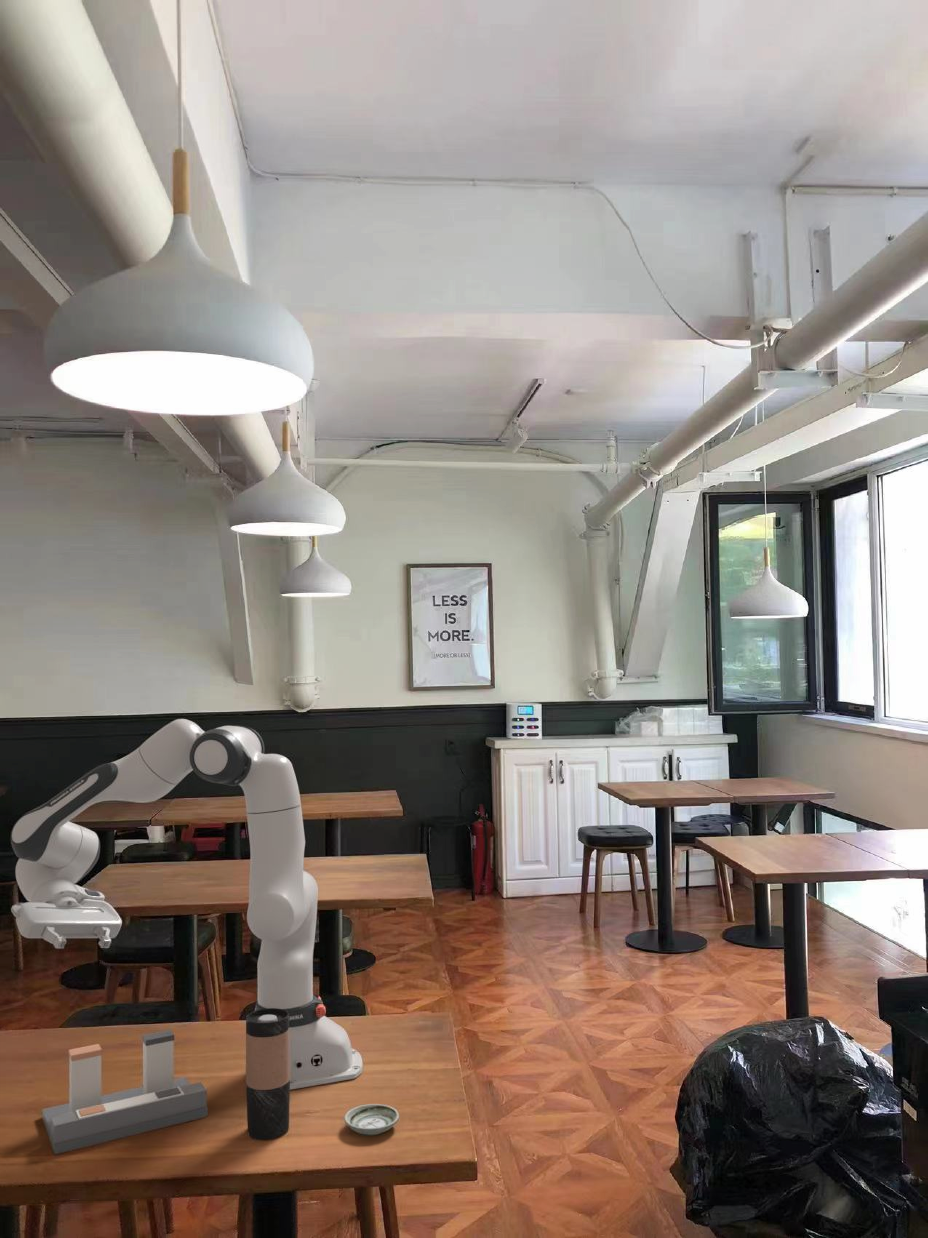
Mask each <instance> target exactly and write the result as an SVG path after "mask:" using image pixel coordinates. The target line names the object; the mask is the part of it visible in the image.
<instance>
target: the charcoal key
mask: <svg viewBox="0 0 928 1238" xmlns="http://www.w3.org/2000/svg"><path fill="white" fill-rule="evenodd" d="M141 1039H142V1040H141V1041H142V1087H143V1095H145V1094H149V1093H153V1092H158V1091H162V1090H166V1089H171V1088H174V1079H175V1060H174V1059H175V1052H174V1051H175V1048H174V1047H175V1042H174V1041H175V1034H174V1032H173V1031H172V1030H171V1029H167V1030H161V1031H156V1032H152V1033H147V1034H142V1035H141Z"/></svg>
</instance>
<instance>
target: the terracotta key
mask: <svg viewBox="0 0 928 1238" xmlns="http://www.w3.org/2000/svg"><path fill="white" fill-rule="evenodd" d="M102 1055H103V1049H102V1047H101V1046H100V1043H96V1044H91V1045H86V1046H80V1047H75V1048H71V1049H68V1057H69V1058H68V1059H69V1061H68V1062H69V1067H68V1068H69V1070H68V1071H69V1072H68V1073H69V1074H68V1076H69V1080H68V1081H69V1083H68V1085H69V1093H68V1094H69V1098H68V1099H69V1101H68V1103H69V1112H74V1111H76V1110H79V1109H84V1108H88V1107H92V1106H97V1105H101V1096H102Z"/></svg>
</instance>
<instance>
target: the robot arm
mask: <svg viewBox="0 0 928 1238" xmlns="http://www.w3.org/2000/svg"><path fill="white" fill-rule="evenodd" d="M191 772H194V773H195V775H197V776H198V777H199V778H201V779H203V780H205V781H207V782H211V783H214V784H222V785H227V786H230V787H237V786H239V787H241V789H242V791H243V794H244V799H245V800H244V801H245V807H246V808H245V811H246V819H247V831H248V837H249V838H248V839H249V849H250V851H249V852H250V853H249V854H250V860H249V864H250V865H249V877H248V879H249V881H248V883H249V886H248V891H249V892H248V907H247V912H246V923H247V925H248V927H249V930H250V931H251V933H252V934H253V935H254V936H256V937H257V938H258V939H260V940H261V944H260V950H259V955H258V959H257V964H256V965H257V966H256V968H257V999H256V1001H255V1008H254V1011H257V1010H261V1009H268V1008H277V1009H282V1010H285V1011H287V1012H288V1014H289V1053H290V1091H291V1090H295V1089H297V1090H298V1089H301V1088H306V1087H307V1088H308V1087H313V1086H319V1085H320V1086H321V1085H325V1084H331V1083H336V1082H341V1081H347V1080H354V1079H357V1078H358V1077H359V1076H360V1075H361V1073H362V1072H363V1069H364V1065H363V1058H362V1056H361V1054H360V1052H359V1051H358V1050H356V1049H354V1048H352V1044H351V1040H350V1038H349V1035H348V1033H347V1031H346V1030H345V1029H344V1027H342V1026H341V1025H339V1024H338V1023H336V1022H335V1021H333V1020H332V1019H330V1018H328V1017H327V1016H326V1012H327V1010H326V1006H325V1005H324V1002H323V1000H322V998H321V997H320V996H319V995H318V996H316V995H314V986H313V985H314V981H313V979H314V977H313V976H314V974H313V973H314V971H313V970H314V968H313V967H314V966H313V965H314V963H313V961H314V949H315V940H316V939H315V938H316V928H317V916H318V902H319V901H318V900H319V886H318V883H317V881H316V880H315V878H314V877H313V875H312V874H310V873H309V872H307V871H305V870H304V861H305V860H304V859H305V849H306V848H305V847H306V837H305V836H306V835H305V829H304V819H303V809H302V802H301V794H300V788H299V784H298V781H297V777H296V773H295V770H294V767H293V763H292V762H291V761H290V760H289V759H288V758H287V757H286V756H284V755H282V754H278V753H265V743H264V741H263V738H262V736H261V735H260V734H259V732H258V731H256V730H255V729H253V728H251V727H249V726H247V725H239V724H237V725H223V726H219V727H215V728H212V729H209V730H207V731H205V730H203V729H202V728H201V727H200V726H199V725H198V724H197V723H196V722H194V721H192V720H189V719H185V718H177V719H174V720H173V721H170V722H169V723H168V724H166V725H164V726H163V727H162V728H160V729H159V730H158V731H156V732H155V733H154V734H152V735H151V736H150V737H149V738H148V739H147V738H146V740H145V741H144V742H143V743H142V744H141V745H140V746H139V747H137V748H136V749H135V750H133V751H132V752H130V753H129V754H127V755H125V756H124V757H122V758H120V759H119V758H118V759H117V760H115V761H111V762H108V763H107V762H106V763H102V764H100V765H98V766H96V767H95V768H93V769H91V770H90V771H89V772H88V771H87V773H85V774H84V775H82V777H79V779H77V780H75V781H74V782H73V783H71V784H70V785H69V786H67V787H66V788H65V789H63V790H61V791H60V792H59V793H57V794H56V795H55V796H53V797H52V798H51V799H49V800H48V801H47V802H45V803H43V804H41V805H40V806H38V807H35V808H33V809H32V810H30V811H28V812H26V813H25V814H23V815H22V816H21V817H19V818H18V819H17V820H16V822H15V823H14V825H13V826H12V829H11V832H10V845H11V848H12V850H13V852H14V854H15V856H16V857H17V858H18V860H17V862H16V865H15V879H16V882H17V886H18V887H19V890H20V892H21V893H22V895H23V897H24V898H25V900H26V902H17V903H16V904H14V905H12V906H11V907H10V910H11V913H12V914H13V916H14V917H16V918H15V922H16V926H17V928H18V931H19V933H20V935H21V936H22V937H24V938H26V939H43V940H44V941H46V942H49V943H50V944H52V945H53V947H54V948H55V949H65V945H66V944H67V939H99V941H98V945H99V947H100V948H101V949H109V948H110V946H111V944H112V939H115V938H116V937H117V936H118V934H119V932H120V930H121V927H122V924H123V920H122V918H121V917H120V915H119V913H118V912H117V911H116V909H115V908H114V907H113V906H112V905H111V904H110V903H108V902H107V901H105V898H106V896H105V894H104V893H102V892H100V891H96V890H92V889H88V888H86V887H82V886H80V885H78V884H77V883H79V882H80V881H81V880H82V879H84V877H86V876H87V875H88V874H89V873H90V871H92V869H93V868H94V867H95V865H96V864H97V862H98V860H99V858H100V853H101V841H100V838H99V836H98V834H97V832H96V831H93V830H91V829H89V828H87V827H84V826H82V825H79V824H76V823H74V822H72V819H74V818H76V817H78V815H79V814H81V813H82V812H83V811H85V810H87V809H88V808H89V807H91V806H92V805H95V804H97V803H101V802H109V801H122V802H131V803H139V804H140V803H143V804H145V803H152V802H155V801H158V800H160V799H161V798H163V797H164V796H166V795H168V793H170V792H171V791H172V790H173V789H174V788H175V787H176V786H177V785H178V784H180V782H182V780H184V778H185V777H187V775H188V774H190V773H191Z"/></svg>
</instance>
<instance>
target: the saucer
mask: <svg viewBox="0 0 928 1238" xmlns="http://www.w3.org/2000/svg"><path fill="white" fill-rule="evenodd" d="M399 1119H400V1114H399V1112H398V1110H397V1109H396V1108H395V1107H392V1106H391V1105H387V1104H380V1103H368V1104H364V1105H362V1104H361V1105H358V1106H356V1107H353V1108H351V1109H349V1110H348V1111H347V1112H346V1113H345V1115H344V1118H343V1120H344V1123H345V1125H346V1126H347V1127H348V1128H350V1129H351V1130H352V1131H354V1132H356V1133H358V1134H360V1135H363V1136H377V1135H380V1134H382V1133H385V1132H386V1131H389V1130H391V1128H393V1126H395V1125H396V1124H397V1123H398V1122H399Z"/></svg>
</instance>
